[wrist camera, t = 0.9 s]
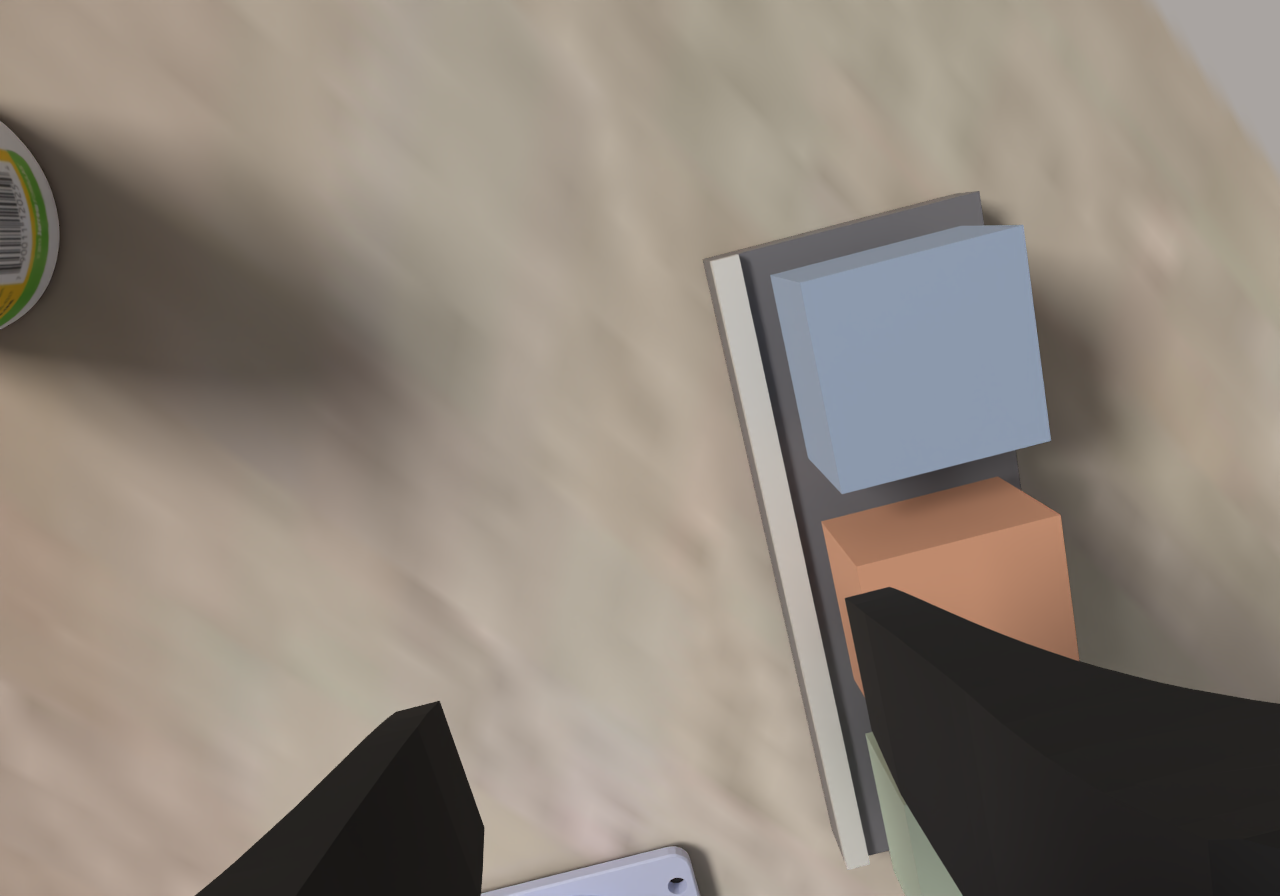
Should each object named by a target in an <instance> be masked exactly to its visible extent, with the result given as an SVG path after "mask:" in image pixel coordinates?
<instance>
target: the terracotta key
mask: <svg viewBox="0 0 1280 896" xmlns="http://www.w3.org/2000/svg"><path fill="white" fill-rule="evenodd" d="M821 523H822V528H823V532H824V537H825V542H826V547H827V552H828V556H829V561H830V566H831V571H832V576H833V581H834V585H835V590H836V595H837V600H838V605H839V609H840V614H841V619H842V624H843V629H844V634H845V638H846V643H847V648H848V653H849V658H850V663H851V667H852V672H853V677H854V680H855V682H856V683H857V685H858V687H859V688H860V690H861V692H862V694H863V695H864V691H863V686H862V681H861V676H860V671H859V666H858V661H857V656H856V651H855V647H854V642H853V637H852V632H851V627H850V622H849V617H848V612H847V608H846V603H845V598H847V597H851V596H855V595H859V594H863V593H867V592H871V591H875V590H878V589H882V588H886V587H892V588H895V589H897V590H900V591H903V592H905V593H907V594H910V595H912V596H914V597H917V598H919V599H921V600H923V601H926V602H928V603H930V604H932V605H935V606H937V607H939V608H941V609H944V610H946V611H948V612H950V613H953V614H955V615H957V616H960V617H962V618H964V619H967V620H969V621H971V622H974V623H976V624H979V625H981V626H983V627H986V628H988V629H991V630H993V631H996V632H998V633H1001V634H1003V635H1006V636H1008V637H1011V638H1014V639H1016V640H1019V641H1022V642H1024V643H1027V644H1030V645H1033V646H1036V647H1038V648H1041V649H1044V650H1047V651H1050V652H1053V653H1056V654H1059V655H1062V656H1065V657H1068V658H1071V659H1074V660H1077V661H1079V654H1078V646H1077V638H1076V630H1075V623H1074V615H1073V607H1072V599H1071V592H1070V584H1069V576H1068V568H1067V561H1066V553H1065V545H1064V537H1063V530H1062V522H1061V515H1060V514H1059V513H1057V512H1055V511H1054V510H1052V509H1050V508H1049V507H1047V506H1045V505H1044V504H1042V503H1041V502H1039V501H1037V500H1036V499H1034V498H1032V497H1031V496H1029V495H1027V494H1026V493H1024V492H1022V491H1021V490H1019V489H1018V488H1016V487H1014V486H1013V485H1011V484H1009V483H1008V482H1006V481H1004V480H1003V479H1001V478H1000V477H998V476H997V477H994V478H990V479H986V480H982V481H978V482H974V483H970V484H966V485H962V486H958V487H954V488H950V489H947V490H943V491H939V492H935V493H931V494H927V495H923V496H919V497H915V498H911V499H907V500H903V501H899V502H896V503H892V504H888V505H884V506H880V507H876V508H872V509H868V510H864V511H860V512H856V513H852V514H849V515H845V516H841V517H837V518H833V519H829V520H825V521H821ZM864 697H865V695H864Z"/></svg>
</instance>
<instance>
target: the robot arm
mask: <svg viewBox="0 0 1280 896" xmlns="http://www.w3.org/2000/svg"><path fill="white" fill-rule="evenodd" d="M845 603H846V608H847V612H848V617H849V622H850V627H851V632H852V637H853V642H854V647H855V651H856V656H857V661H858V666H859V671H860V676H861V681H862V686H863V691H864V695H865V700H866V705H867V710H868V715H869V720H870V725H871V730H872V732H873V734H874V737H875V739H876V741H877V743H878V746H879V748H880V750H881V752H882V755H883V757H884V759H885V761H886V764H887V766H888V768H889V770H890V772H891V775H892V777H893V779H894V781H895V783H896V785H897V787H898V790H899V792H900V794H901V796H902V797H903V799H904V801H905V802H906V804H907V806H908V808H909V809H910V811H911V812H912V814H913V816H914V817H915V819H916V821H917V822H918V824H919V826H920V827H921V829H922V831H923V832H924V834H925V835H926V837H927V839H928V840H929V842H930V844H931V845H932V847H933V849H934V850H935V852H936V853H937V855H938V857H939V858H940V860H941V861H942V863H943V865H944V866H945V868H946V870H947V871H948V873H949V874H950V876H951V878H952V879H953V881H954V882H955V884H956V886H957V887H958V889H959V891H960V892H961V894H962V895H963V896H1280V704H1277V703H1270V702H1262V701H1256V700H1250V699H1244V698H1238V697H1233V696H1227V695H1221V694H1216V693H1210V692H1204V691H1199V690H1193V689H1188V688H1183V687H1178V686H1174V685H1169V684H1164V683H1160V682H1155V681H1151V680H1147V679H1143V678H1139V677H1136V676H1132V675H1128V674H1124V673H1120V672H1116V671H1112V670H1108V669H1104V668H1101V667H1097V666H1094V665H1090V664H1087V663H1084V662H1080V661H1077V660H1074V659H1071V658H1068V657H1065V656H1062V655H1059V654H1056V653H1053V652H1050V651H1047V650H1044V649H1041V648H1038V647H1036V646H1033V645H1030V644H1027V643H1024V642H1022V641H1019V640H1016V639H1014V638H1011V637H1008V636H1006V635H1003V634H1001V633H998V632H996V631H993V630H991V629H988V628H986V627H983V626H981V625H979V624H976V623H974V622H971V621H969V620H967V619H964V618H962V617H960V616H957V615H955V614H953V613H950V612H948V611H946V610H944V609H941V608H939V607H937V606H935V605H932V604H930V603H928V602H926V601H923V600H921V599H919V598H917V597H914V596H912V595H910V594H907V593H905V592H903V591H900V590H897V589H895V588H892V587H886V588H882V589H878V590H875V591H871V592H867V593H863V594H859V595H855V596H851V597H847V598H845ZM483 848H484V825H483V823H482V820H481V817H480V814H479V811H478V808H477V806H476V803H475V800H474V797H473V794H472V791H471V789H470V786H469V783H468V780H467V777H466V774H465V772H464V769H463V766H462V763H461V760H460V757H459V755H458V752H457V749H456V746H455V743H454V740H453V738H452V735H451V732H450V729H449V726H448V723H447V721H446V718H445V715H444V712H443V709H442V706H441V704H440V701H437V702H433V703H429V704H425V705H421V706H418V707H414V708H410V709H406V710H402V711H398V712H395V713H394V714H393V715H391V716H390V717H389V718H387V719H386V720H385V721H384V722H383V723H381V724H380V725H379V726H378V727H377V728H376V729H375V730H374V731H373V732H371V733H370V734H369V735H368V736H367V737H366V738H365V739H364V740H363V741H362V742H361V743H360V744H359V745H358V746H357V747H356V748H355V749H354V750H353V751H352V752H351V753H350V754H349V755H348V756H347V757H346V758H345V759H344V760H343V761H342V762H341V763H340V764H339V765H338V766H337V767H336V768H335V769H334V770H333V771H331V772H330V773H329V774H328V775H327V776H326V777H325V778H324V779H323V780H322V781H321V782H320V783H319V784H318V785H317V786H316V787H315V788H314V789H313V790H312V791H311V792H310V793H309V794H308V795H307V796H306V797H305V798H304V799H303V800H302V801H301V802H300V803H299V804H298V805H297V806H296V807H295V808H294V809H293V810H291V811H290V812H289V813H288V814H287V815H286V816H285V817H284V818H283V819H282V820H281V821H279V822H278V823H277V824H276V825H275V826H274V827H273V828H272V829H271V830H270V831H268V832H267V833H266V834H265V835H264V836H263V837H262V838H261V839H260V840H259V841H258V842H256V843H255V844H254V845H253V846H252V847H251V848H250V849H249V850H248V851H247V852H245V853H244V854H243V855H242V856H241V857H240V858H239V859H238V860H237V861H236V862H235V863H233V864H232V865H231V866H230V867H229V868H228V869H226V870H225V871H224V872H223V873H222V874H221V875H219V876H218V877H217V878H216V879H215V880H213V881H212V882H211V883H210V884H209V885H207V886H206V887H205V888H204V889H202V890H201V891H200V892H199V893H198V894H196V895H195V896H700V892H699V889H698V885H697V881H696V878H695V874H694V871H693V867H692V864H691V860H690V857H689V855H688V853H687V852H686V851H685V850H684V849H682V848H680V847H676V846H671V847H665V848H661V849H657V850H653V851H649V852H645V853H641V854H637V855H633V856H629V857H625V858H621V859H617V860H613V861H609V862H605V863H601V864H597V865H593V866H589V867H585V868H581V869H577V870H573V871H569V872H565V873H561V874H557V875H553V876H549V877H545V878H541V879H537V880H533V881H529V882H525V883H521V884H517V885H513V886H509V887H505V888H501V889H497V890H493V891H489V892H485V893H481V885H482V871H483ZM674 878H682V879H684V880H683V881H681V882H679V883H672V882H670V880H672V879H674Z"/></svg>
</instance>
